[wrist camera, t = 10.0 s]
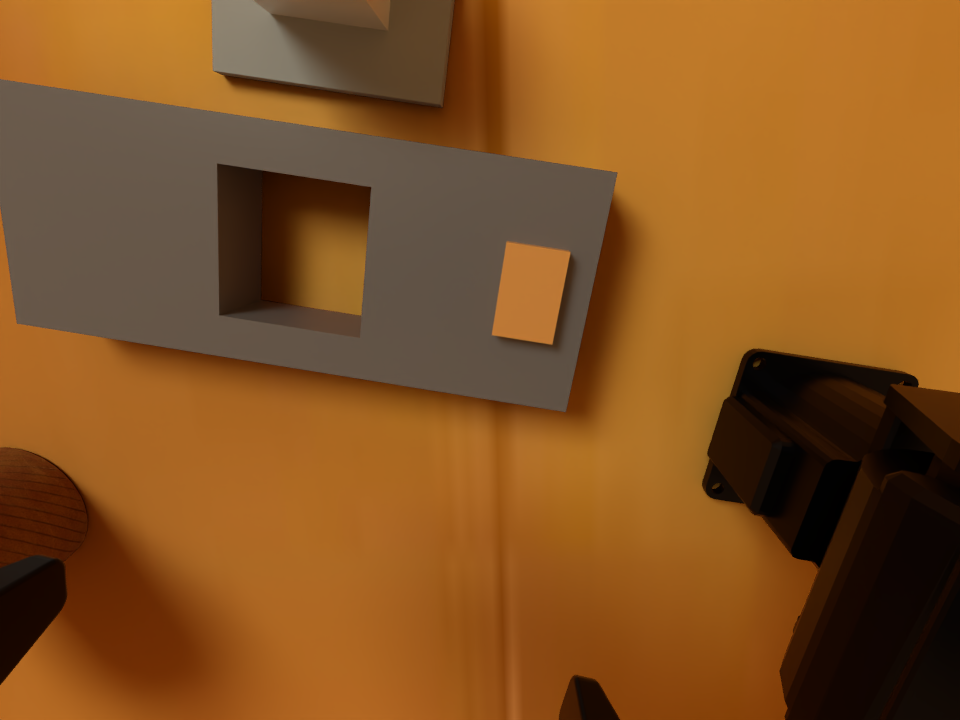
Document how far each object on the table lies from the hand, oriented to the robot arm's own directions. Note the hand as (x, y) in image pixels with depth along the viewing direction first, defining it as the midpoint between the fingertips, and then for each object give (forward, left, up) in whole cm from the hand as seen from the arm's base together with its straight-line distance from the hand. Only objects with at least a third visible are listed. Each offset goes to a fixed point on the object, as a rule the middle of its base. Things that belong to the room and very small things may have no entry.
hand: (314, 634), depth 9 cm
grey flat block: (+5, -5, -13) cm, 15 cm away
